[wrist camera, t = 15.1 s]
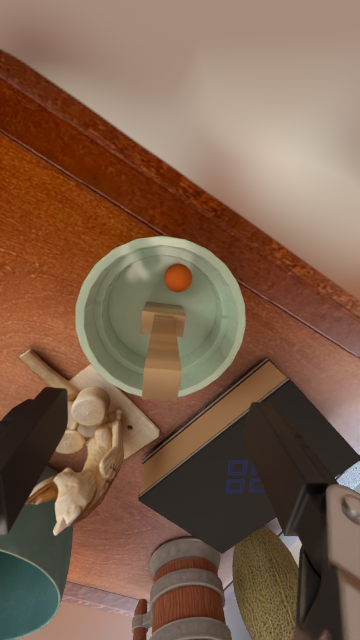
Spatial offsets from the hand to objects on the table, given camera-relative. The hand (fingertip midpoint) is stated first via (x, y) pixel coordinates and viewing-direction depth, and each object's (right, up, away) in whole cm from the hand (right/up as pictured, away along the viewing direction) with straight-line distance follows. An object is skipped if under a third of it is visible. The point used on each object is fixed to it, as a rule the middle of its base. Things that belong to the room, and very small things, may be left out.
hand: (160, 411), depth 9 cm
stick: (-1, +5, +17) cm, 18 cm away
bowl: (-1, +5, +18) cm, 19 cm away
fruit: (+15, -37, +32) cm, 51 cm away
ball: (+1, +9, +15) cm, 17 cm away
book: (+10, -15, +25) cm, 31 cm away
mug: (0, -45, +33) cm, 56 cm away
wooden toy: (-12, -8, +22) cm, 26 cm away
